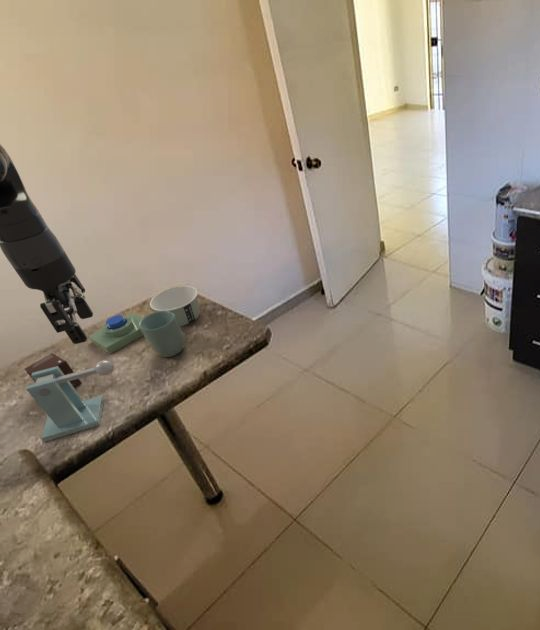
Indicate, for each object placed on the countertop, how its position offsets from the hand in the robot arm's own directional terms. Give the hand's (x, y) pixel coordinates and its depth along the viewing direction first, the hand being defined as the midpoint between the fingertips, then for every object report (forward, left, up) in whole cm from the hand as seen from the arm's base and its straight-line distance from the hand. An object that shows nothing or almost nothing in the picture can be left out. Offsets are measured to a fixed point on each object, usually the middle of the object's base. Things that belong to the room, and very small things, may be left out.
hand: (84, 329), depth 85 cm
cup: (+9, +14, -20) cm, 26 cm away
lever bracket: (-10, -1, -20) cm, 23 cm away
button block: (-3, +27, -20) cm, 34 cm away
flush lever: (-5, -1, -11) cm, 12 cm away
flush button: (-3, +27, -17) cm, 32 cm away
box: (-15, +12, -21) cm, 28 cm away
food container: (+11, +29, -20) cm, 37 cm away
